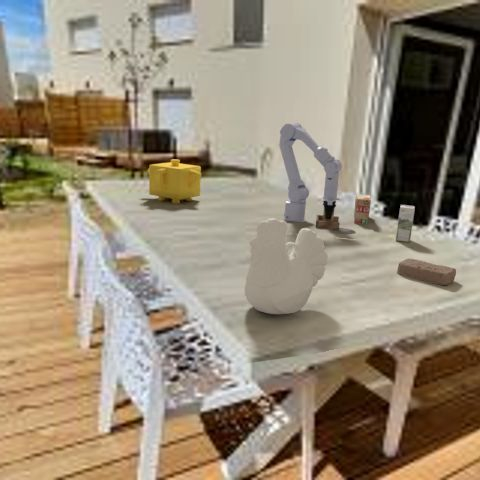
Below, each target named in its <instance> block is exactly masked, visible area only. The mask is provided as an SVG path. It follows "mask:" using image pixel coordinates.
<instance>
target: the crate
mask: <svg viewBox="0 0 480 480" xmlns="http://www.w3.org/2000/svg"><path fill="white" fill-rule="evenodd" d="M339 219H340V218H339V216H337V215H335V216H334V218H333V222H330V221H323V214H316V218H315V220H316V221H315V228H319V229H328V230H329V229H331V230H332V229H339V228H340V222H339Z"/></svg>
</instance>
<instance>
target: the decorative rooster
mask: <svg viewBox="0 0 480 480" xmlns="http://www.w3.org/2000/svg"><path fill="white" fill-rule="evenodd" d="M287 231H288V224H287V223H286V221H285V220H280V219H278V218H274V217H270V218H268V219H266V220H262V221H259V223H258V224H257V226H256V233H255V234H254V235H253V238H252V239H250V240H248V241H249V245H250V247H251V248H250V265H249V268H248V270H247V274H246V276H245V286H244V296H245V298H246V301H247V302H249V304H250V305H251V306H253V308H254V309H255V310H256V311H259V312H261V313H262V312H263V313H265V314H269V315H288V314H293V313H294V314H295V313H297V312H298V311H300V310H302V309H303V307H304V306H306V304H307V303H308V301H309V298H310V297H311V294H312V290H313V288H314V287H315V286H317V284H318V282H319V281H320V280H321V279H323V277H324V275H325V270H326V265H327V264H328V258H329V257H328V253H327V252H326V251H325V250H326V246H325V243H324V240H323V239H322V237H319V235H317V233H316V232H315V231H314V230H312V229H310V228H309V227H304V228H300V230H299V232H298V233H297V236H296V239H295V242H293V241H289V242H286V238H285V237H286V233H287ZM290 248H292V249H291V251H290V254H288V251H289V249H290Z"/></svg>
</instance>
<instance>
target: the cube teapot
mask: <svg viewBox="0 0 480 480" xmlns="http://www.w3.org/2000/svg"><path fill="white" fill-rule="evenodd" d="M180 162H181V160H180V159H175V158H173V159H170V162H161V163H153V164H149V167H148V169H147V170H146V172H147V173H148V174H149V175H148V176H149V181H148V182H149V185H148V186H149V189H148V191H149V196H150V195H151V196H155V197H158V198H157V199H156V201H161V202H163V201H166V199H170V200H171V201H172V202H171V203H172V204H181V201H182V200H184V201H187V202H191V201H193V198H195V197H200V196H201V178H202V172H201V171H202V167H201V166H200V165H194V164H189V163H187V164H186V163H180Z"/></svg>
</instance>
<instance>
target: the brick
mask: <svg viewBox="0 0 480 480" xmlns="http://www.w3.org/2000/svg"><path fill="white" fill-rule="evenodd" d="M396 273H397V274H398V275H401V276H405V277H408V278H409V277H410V278H412V279H415V280H419V281H423V282H427V283H431V284H435V285H438V286H447V285H450V284H451V283H453V282H454V281H455V278H456V274H457V269H456V268H453V267H449V266H446V265H442V264H441V265H440V264H433V263H430V262H426V261H424V260H419V259H414V258H405V259H404V260H402V261H400V262H398V266H397V271H396Z"/></svg>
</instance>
